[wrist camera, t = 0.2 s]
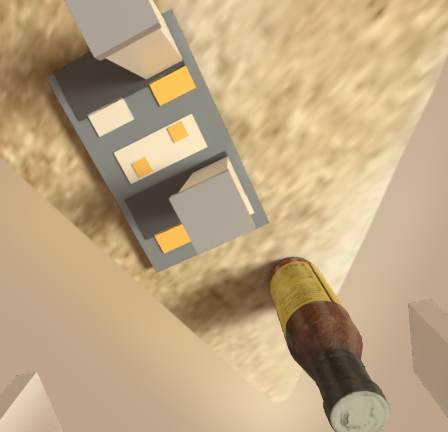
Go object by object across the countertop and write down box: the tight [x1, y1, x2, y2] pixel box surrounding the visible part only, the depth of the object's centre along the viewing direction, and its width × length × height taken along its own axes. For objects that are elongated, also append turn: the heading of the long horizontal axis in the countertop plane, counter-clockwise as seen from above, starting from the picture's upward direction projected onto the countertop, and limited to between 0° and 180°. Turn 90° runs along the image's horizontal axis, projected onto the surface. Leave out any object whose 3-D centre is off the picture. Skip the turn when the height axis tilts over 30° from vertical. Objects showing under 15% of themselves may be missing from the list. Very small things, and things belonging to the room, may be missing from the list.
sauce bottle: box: [270, 258, 390, 432], centre depth 31 cm, size 7×6×20 cm
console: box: [46, 9, 269, 273], centre depth 36 cm, size 23×14×2 cm, turn 25°
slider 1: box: [64, 0, 183, 79], centre depth 26 cm, size 4×4×13 cm
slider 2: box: [169, 156, 256, 254], centre depth 29 cm, size 4×4×13 cm
